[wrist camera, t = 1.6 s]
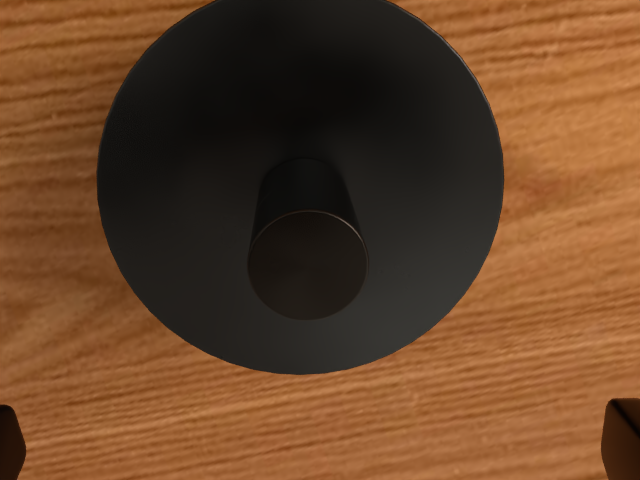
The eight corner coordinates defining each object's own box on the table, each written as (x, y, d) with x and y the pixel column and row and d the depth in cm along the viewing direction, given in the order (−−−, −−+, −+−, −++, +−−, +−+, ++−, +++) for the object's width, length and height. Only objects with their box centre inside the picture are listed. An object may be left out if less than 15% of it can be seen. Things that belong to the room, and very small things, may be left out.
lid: (102, 334, 18) (30, 458, 13) (115, -53, 14) (22, -86, 9) (442, 372, 19) (496, 500, 14) (538, 22, 15) (657, 28, 10)
